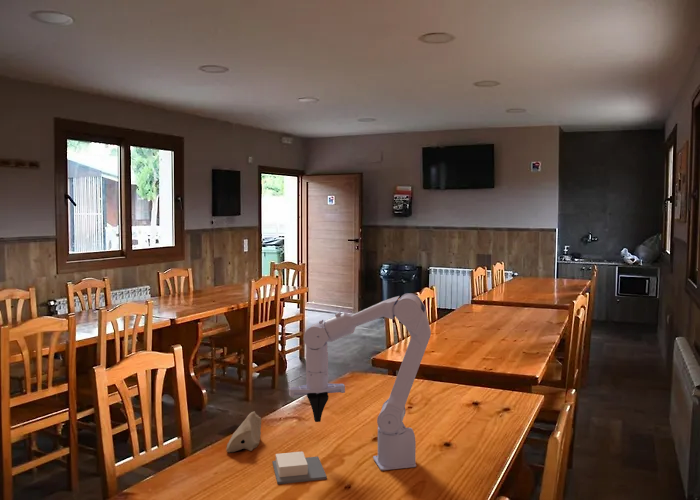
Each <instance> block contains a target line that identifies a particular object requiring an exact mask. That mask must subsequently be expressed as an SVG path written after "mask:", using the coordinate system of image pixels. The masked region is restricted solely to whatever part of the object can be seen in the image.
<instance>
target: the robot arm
mask: <svg viewBox="0 0 700 500" xmlns="http://www.w3.org/2000/svg"><path fill="white" fill-rule="evenodd" d="M381 318H386V319H389V320H394V319H395V318H396V319H397V320H398V322H399V323H401V324H402V325H403V326H404V327H406V330H407V332H408V334H409V335H410V339H409V342H408V345H407V348H406V351H405V353H404V356H403V359H402V361H401V364H400V367H399V371H398V373H397V375H396V378H395V380H394V384H393V386H392V388H391V391H390V393H389V397H388V398H387V400H385V401H384V403H383V404H382V406H381V409H380V412H379V414H378V415H377V422H376V423H377V455H373V456H372V459H373V460H374V462H375V464H376V466H377V467H378V468H379V470H380V471H389V470H399V469H409V468H416V467H417V464H416V451H417V450H416V448H417V447H416V443H417V442H416V435H415V432H414V430H413V428H412V427H406V425H405V424H404V422H403V421H404V418H405V416H406V404H407V401H408V398H409V395H410V392H411V390H412V387H413V384H414V382H415V379H416V376H417V373H418V371H419V368H420V365H421V362H422V360H423V357H424V355H425V352H426V350H427V348H428V347H427V346H428V344H429V341H430V338H431V334H432V330H431V326H430V323H429V318H428V315H427V308H426V305H425V304H424V302H423V301H422V299H421V298H420V297H419V295H417V294H415V293H411V292H410V293H408V292H407V293H404V294H402V295H401V296H400V295H398V296H394V297H391V298H388V299H384V300H382V301H380V302H378V303H375V304H373V305H371V306H369V307H367V308H364V309H362V310H360V311H357V312H355V313H354V314H350V313H348V312H342V313H341V311H339V312H337V313H335V315H334V316H333V317H330V318H329V319H326V320H324V319H321V320H319V321H318V322H317V323H314V324H312V325H311V326H309V327H308V328H307V329H306V330H305V332H304V334H303V342H304V344H305V345H306V349H305V375H306V376H305V377H306V378H305V379H306V380H305V381H306V383H305V384H302V385H298V386H297V385H296V386H291V387H289V388H288V391H289V392H288V394H289V396H290V397H291V398H292V397H295V396H306V397H307V399H308V402H309V404H310V407H311V410H312V414H313V419H314V422H315V423H320V422H322V421H321V420H322V415H323V412H324V409H325V406H326V404H327V403H328V400H329V394H332V393H333V394H335V393H340V394H343V393H344V394H345V393H346V385H345V384H344V383H329V352H328V342H329V343H332V342H335V341H337V340H339V339H342V338H344V337H348V336H349V335H353V334H354V332H355V331H356V328H357V327H358V326H361V325H364V324H366V323H370V322H372V321H376V320H378V319H381Z"/></svg>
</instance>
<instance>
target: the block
mask: <svg viewBox="0 0 700 500" xmlns="http://www.w3.org/2000/svg"><path fill="white" fill-rule="evenodd" d="M305 458H306V456H305V453H304V451H302V450H301V451H292V452H285V453H275V461H276V466H277V470H278V474H279V477H287V476H297V475H306V474H308V464H307V461H306V459H305Z"/></svg>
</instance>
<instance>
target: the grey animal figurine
mask: <svg viewBox="0 0 700 500" xmlns="http://www.w3.org/2000/svg"><path fill="white" fill-rule="evenodd" d="M261 428H262V417H260V416H259V415H258V414H257V413H256V411H251V412H249V414H248V415H247V416H246V418H245V419H244V420H243V421H242V422H241V424H240V425H239V426H238V427H237V428H236V429H235V431H234V432H233V434H231V436H230V439H229V441H228V442H227V444H226V448H225V450H226V452H227V453H235V452H237V451H241V450H242V449H243V450H248V451H250V452H251V451H253V450H254V449H256V448H258V446H259V444H260V439H261V435H262V431H261V430H262V429H261Z"/></svg>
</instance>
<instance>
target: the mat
mask: <svg viewBox="0 0 700 500" xmlns="http://www.w3.org/2000/svg"><path fill="white" fill-rule="evenodd" d="M305 459H306V461H307V464H308V474H306V475H297V476H287V477H279V474H278V470H277V466H276V460H272V467H273V472H274V476H275V479H276V484H277V485H284V484H292V483H301V482H303V483H304V482H312V481H313V482H314V481H319V480H320V481H322V480H327V479H328V478H327V477H328V476H327V474H326V471H325V469H324V467H323V465H322V463H321V459H320V457H319V456H310V457H309V456H308V457H307V456H306V457H305Z"/></svg>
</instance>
